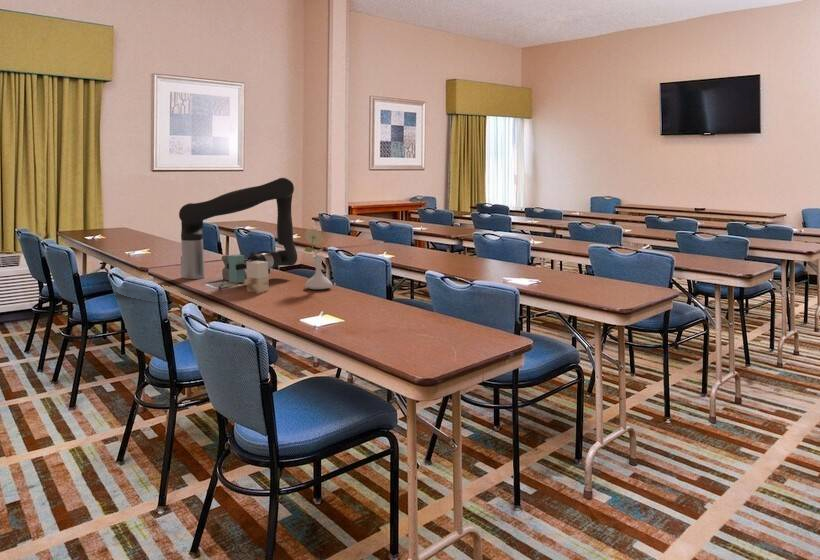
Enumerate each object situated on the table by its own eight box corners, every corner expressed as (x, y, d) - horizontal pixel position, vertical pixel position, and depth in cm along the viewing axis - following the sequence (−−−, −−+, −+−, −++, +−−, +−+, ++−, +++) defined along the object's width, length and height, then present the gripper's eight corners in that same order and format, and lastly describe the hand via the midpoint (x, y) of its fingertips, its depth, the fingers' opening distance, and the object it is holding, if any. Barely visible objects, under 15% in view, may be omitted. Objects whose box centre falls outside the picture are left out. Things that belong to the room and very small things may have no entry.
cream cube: (246, 277, 264) (246, 262, 263) (257, 275, 269) (256, 260, 268) (258, 278, 261) (257, 263, 260) (268, 276, 266) (268, 261, 265)
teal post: (229, 281, 273) (228, 255, 271) (236, 280, 277) (236, 254, 275) (237, 282, 271) (236, 256, 269) (244, 281, 274) (244, 255, 272)
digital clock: (248, 279, 284) (246, 255, 283) (227, 282, 281) (224, 257, 279) (241, 276, 299) (239, 253, 297) (221, 278, 295) (218, 255, 294)
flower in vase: (337, 288, 275) (337, 228, 271) (320, 292, 265) (320, 230, 261) (313, 285, 281) (312, 226, 277) (296, 289, 272) (294, 228, 268)
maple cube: (247, 291, 265) (246, 277, 264) (257, 289, 270) (257, 275, 269) (258, 293, 262) (258, 278, 261) (268, 291, 267) (268, 276, 266)
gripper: (248, 252, 287) (218, 256, 273) (273, 254, 280) (244, 259, 266) (248, 268, 289) (219, 274, 274) (273, 272, 282) (244, 277, 267)
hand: (231, 266), depth 270 cm, fingers closed on teal post, 4 cm apart
